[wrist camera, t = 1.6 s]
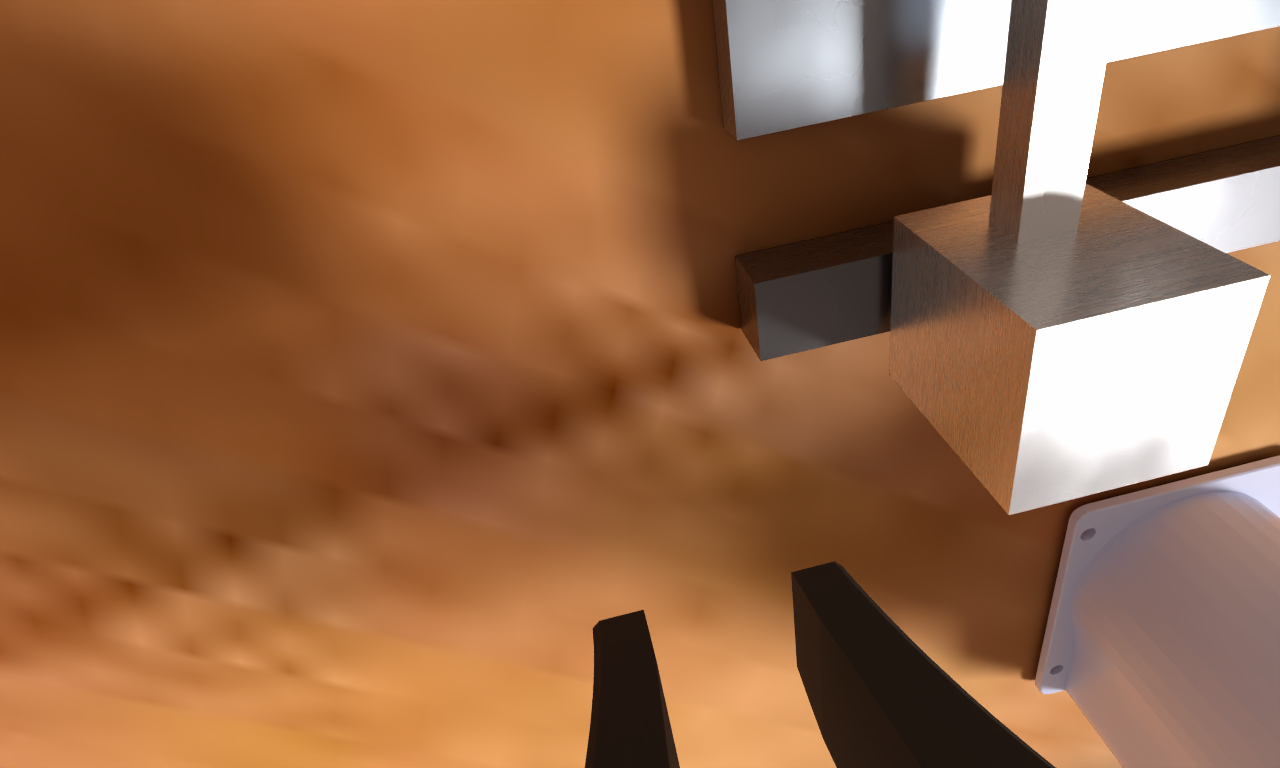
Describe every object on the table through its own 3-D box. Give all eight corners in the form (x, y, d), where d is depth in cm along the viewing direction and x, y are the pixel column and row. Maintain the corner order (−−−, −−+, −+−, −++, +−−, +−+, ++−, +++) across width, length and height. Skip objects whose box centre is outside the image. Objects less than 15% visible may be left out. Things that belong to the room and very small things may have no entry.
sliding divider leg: (1041, 333, 19) (1208, 465, 15) (885, 370, 19) (1008, 515, 15) (1130, -234, 13) (1455, -286, 9) (900, -192, 13) (1121, -225, 9)
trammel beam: (1606, 132, 21) (1676, 148, 20) (741, 330, 20) (760, 360, 18) (1647, 54, 20) (1725, 65, 19) (734, 256, 18) (754, 284, 17)
